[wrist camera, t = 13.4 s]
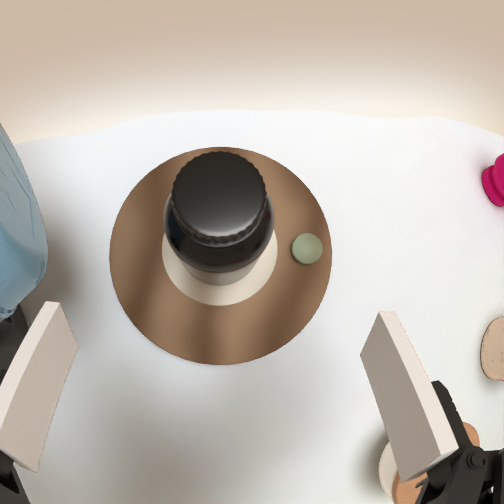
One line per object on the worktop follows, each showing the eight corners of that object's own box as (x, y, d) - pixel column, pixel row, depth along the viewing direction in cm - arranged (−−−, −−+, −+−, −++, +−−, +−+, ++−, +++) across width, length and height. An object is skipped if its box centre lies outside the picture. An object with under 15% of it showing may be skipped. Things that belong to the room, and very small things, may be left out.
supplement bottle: (176, 284, 25) (138, 254, 14) (184, 208, 27) (159, 130, 15) (258, 290, 26) (286, 263, 14) (261, 212, 27) (286, 137, 16)
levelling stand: (114, 351, 27) (98, 355, 23) (135, 161, 31) (124, 141, 27) (321, 360, 28) (336, 365, 24) (317, 169, 33) (328, 149, 29)
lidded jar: (444, 399, 28) (497, 412, 19) (432, 474, 26) (477, 499, 16) (367, 417, 27) (415, 444, 18) (358, 497, 25) (394, 536, 16)
